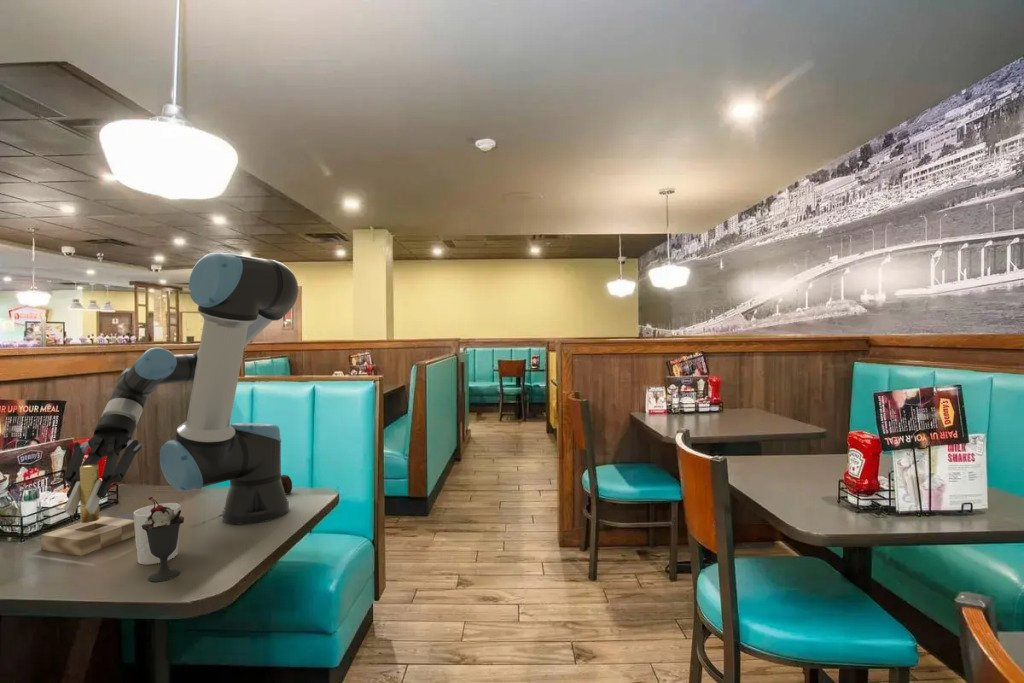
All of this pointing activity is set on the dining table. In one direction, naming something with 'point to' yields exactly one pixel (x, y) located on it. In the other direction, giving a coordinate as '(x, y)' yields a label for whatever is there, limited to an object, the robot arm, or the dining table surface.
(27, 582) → the dining table surface
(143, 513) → the white cup
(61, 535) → the oak socket block
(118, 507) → the dining table surface
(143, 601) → the dining table surface
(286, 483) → the bolt
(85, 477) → the brass pin
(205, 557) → the dining table surface
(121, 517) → the rubber mat
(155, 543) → the sundae
